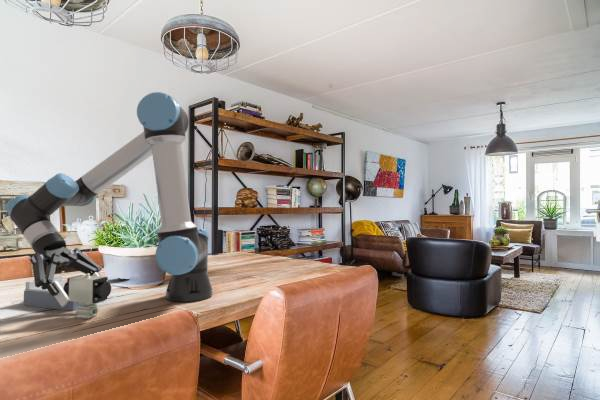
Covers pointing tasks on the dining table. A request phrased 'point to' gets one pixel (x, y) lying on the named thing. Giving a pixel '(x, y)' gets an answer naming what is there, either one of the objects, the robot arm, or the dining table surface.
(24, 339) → the dining table surface
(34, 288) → the grey piece
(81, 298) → the pneumatic valve
